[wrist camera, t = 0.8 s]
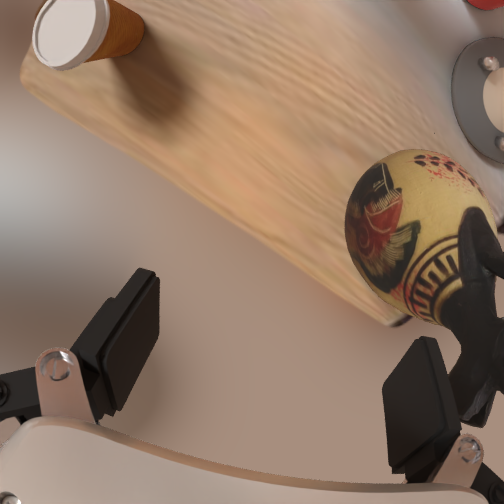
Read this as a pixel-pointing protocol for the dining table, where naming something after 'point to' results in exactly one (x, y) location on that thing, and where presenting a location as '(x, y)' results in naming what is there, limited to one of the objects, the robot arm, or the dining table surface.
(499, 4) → the beer can
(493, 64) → the steel pins
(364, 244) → the ceramic jug
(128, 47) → the disposable coffee cup
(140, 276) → the robot arm
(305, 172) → the dining table surface
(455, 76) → the pin plate
